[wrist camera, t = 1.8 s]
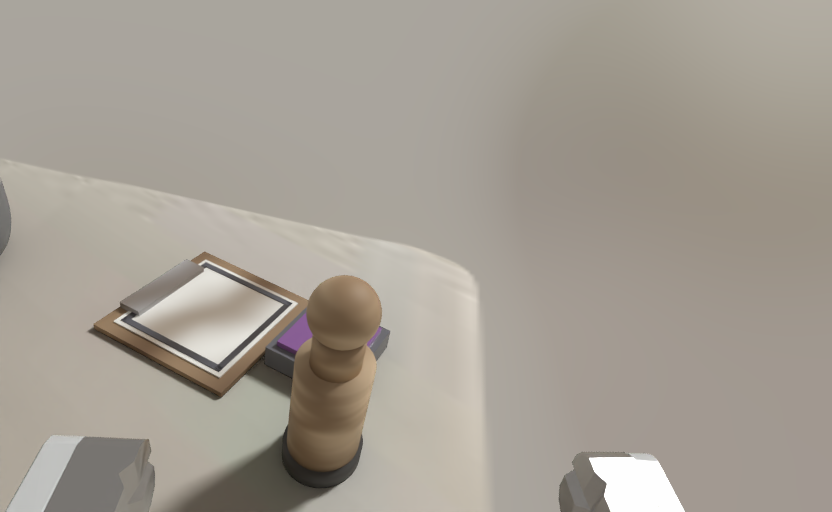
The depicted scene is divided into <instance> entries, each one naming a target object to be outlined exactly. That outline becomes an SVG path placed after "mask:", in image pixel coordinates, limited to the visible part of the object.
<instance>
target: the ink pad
mask: <svg viewBox="0 0 832 512" xmlns="http://www.w3.org/2000/svg"><path fill="white" fill-rule="evenodd" d="M306 310H307V307H306V308H305V309H304V310H303V311H302V312H301V313H300V314H299V315H298V316H297V317H296V318H295V319H294V320H293V321H292V322H290V323H289V324H288V325H287V326H286V327H285V328H284V329H283V330H282V331H281V332H280V333H279V334H278V335H277V336H276V337H275V338H274V339H273V340H272V341H271V342H270V343H269V344H268V345H267V346H266V347H265V365H267V366H269V367H271V368H273V369H275V370H277V371H279V372H281V373H283V374H285V375H287V376H289V377H291V378H293V371H294V361H295V356H296V353H297V351H298V349H299V348H300V346H301V345H302V344H303V343H304V342H306V341H307V340H308V339H310V338H312V335H313V334H312V332H311V331H310V329H309V326H308V323H307V317H306ZM389 335H390V331H389V330H387V329H385V328H383V327H381V326H379V328H378V330H377V332H376V333H375V335H374V336H373V337H372V338H371V339H370V340H369V341H368V342H367V346H368V347H369V348H370V349H371V351H372V352H373V354H374V356H375V359H376V361H377V360H378V358H379V357H380V356H381V354H382V353H383V351H384V350H385V349H386V347H387V343H388V339H389Z"/></svg>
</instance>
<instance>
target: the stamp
mask: <svg viewBox="0 0 832 512" xmlns="http://www.w3.org/2000/svg"><path fill="white" fill-rule="evenodd" d="M306 317H307V323H308V326H309V329H310V331H311V332H312V334H313V335H312V338H310V339H308V340H307V341H306V342H304V343H303V344H302V345H301V346H300V348H299V349H298V351H297V353H296V356H295V361H294V371H293V381H292V391H291V402H290V412H289V422H288V425H287V427H286V429H285V432H284V436H283V445H282V460H283V464H284V466H285V468H286V470H287V472H288V473H289V474H290V475H291V477H293V478H294V479H295V480H296V481H298V482H299V483H301V484H303V485H306V486H309V487H314V488H327V487H332V486H335V485H337V484H340V483H342V482H343V481H345V480H346V479H347V478H349V477H350V476H351V474H352V473H353V472H354V471H355V469H356V467H357V465H358V462H359V458H360V454H361V450H362V445H363V438H362V429H363V425H364V421H365V416H366V412H367V408H368V403H369V399H370V395H371V390H372V386H373V382H374V377H375V373H376V367H377V364H376V359H375V356H374V354H373V352H372V351H371V349H370V348H369V347H368V346H367V342H368V341H369V340H370V339H371V338H372V337H373V336H374V335H375V333H376V332H377V330H378V328H379V325H380V322H381V317H382V308H381V303H380V300H379V297H378V295H377V293H376V292H375V290H374V289H373V288H372V287H371V286H370V285H369V284H368V283H367V282H365V281H364V280H362V279H360V278H357V277H354V276H348V275H342V276H335V277H332V278H330V279H327V280H325V281H324V282H322V283H321V284H320V285H319V286H318V287H317V288H316V289H315V290H314V291H313V293H312V295H311V296H310V299H309V301H308V304H307V310H306Z"/></svg>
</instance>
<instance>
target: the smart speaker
mask: <svg viewBox="0 0 832 512" xmlns="http://www.w3.org/2000/svg"><path fill="white" fill-rule="evenodd" d="M10 232H11V213H10V207H9V203H8V199H7V196H6V193H5V190H4V187H3V184H2V181H1V178H0V255H1V254H2V252H3V251H4V249H5V247H6V245H7V243H8V240H9V237H10Z"/></svg>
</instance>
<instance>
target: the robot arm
mask: <svg viewBox="0 0 832 512" xmlns="http://www.w3.org/2000/svg"><path fill="white" fill-rule="evenodd" d="M150 453H151V447H150V443H149V439H129V438H105V437H86V436H59V435H52V436H51V437H50V438H49V439H48V440H47V441H46V442H45V443H44V444H43V445H42V447H41V449H40V451H39V452H38V454H37V456H36V458H35V459H34V461H33V463H32V465H31V466H30V468H29V470H28V472H27V474H26V475H25V477H24V479H23V481H22V482H21V484H20V486H19V488H18V489H17V491H16V493H15V495H14V497H13V498H12V500H11V502H10V504H9V505H8V507H7V509H6V511H5V512H149V509H150V506H151V502H152V497H153V492H154V487H155V471H154V466H153V465H152V464H150V463H149V462H148V459H149V456H150ZM572 464H573V466H574V470H573V471H571V472H569V473H568V474H566V475H565V476H564V478H563V480H562V482H561V484H560V489H559V504H560V511H561V512H684V510H683V508H682V506H681V504H680V502H679V500H678V498H677V497H676V495H675V493H674V491H673V489H672V487H671V485H670V483H669V481H668V479H667V478H666V476H665V474H664V472H663V470H662V468H661V466H660V464H659V462H658V461H657V460H656V458H655V457H654V456H652V455H651V454H644V453H624V452H581V453H579V454H577V455H576V456H575V458H574V460H573V461H572Z"/></svg>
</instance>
